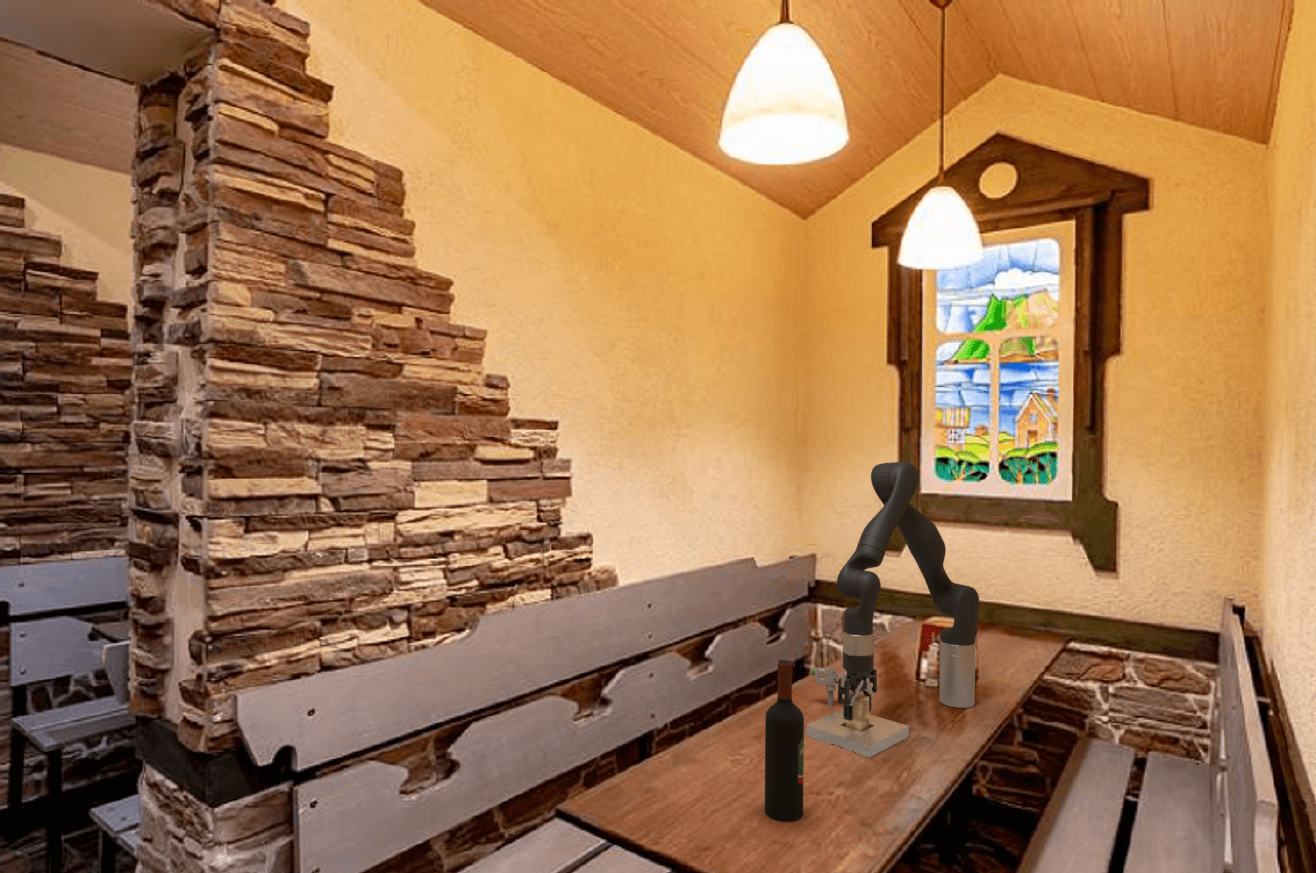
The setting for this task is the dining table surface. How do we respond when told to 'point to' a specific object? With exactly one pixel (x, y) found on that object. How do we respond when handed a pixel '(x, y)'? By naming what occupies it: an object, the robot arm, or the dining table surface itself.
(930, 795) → the dining table surface
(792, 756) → the wine bottle
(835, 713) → the square slotted board
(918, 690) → the dining table surface
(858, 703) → the wooden block
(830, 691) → the mechanical component
